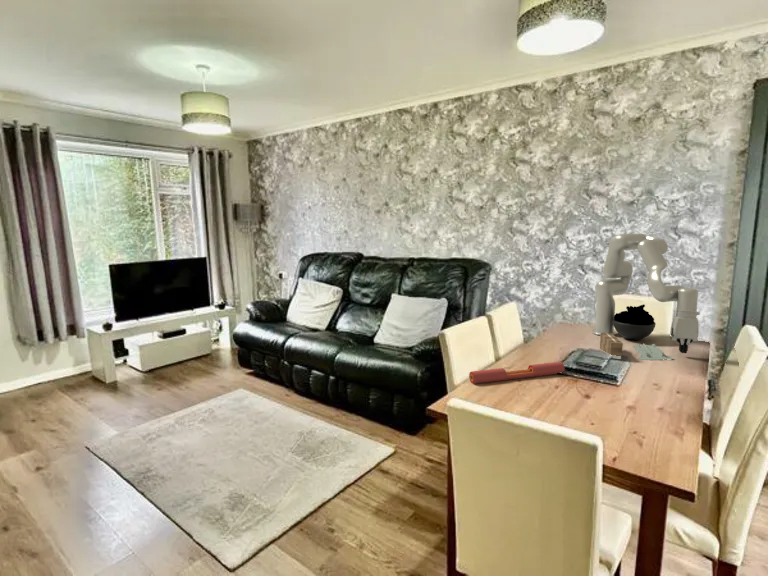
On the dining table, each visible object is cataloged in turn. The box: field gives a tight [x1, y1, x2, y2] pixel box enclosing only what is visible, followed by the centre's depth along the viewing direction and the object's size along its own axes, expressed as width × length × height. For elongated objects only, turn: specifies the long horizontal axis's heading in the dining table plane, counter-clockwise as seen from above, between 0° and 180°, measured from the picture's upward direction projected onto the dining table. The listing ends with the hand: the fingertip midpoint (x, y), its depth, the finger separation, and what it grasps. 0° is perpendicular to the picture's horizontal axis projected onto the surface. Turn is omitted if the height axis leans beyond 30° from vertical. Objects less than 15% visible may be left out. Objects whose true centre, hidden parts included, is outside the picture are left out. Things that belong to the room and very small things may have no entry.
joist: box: [599, 333, 624, 357], centre depth 204 cm, size 18×5×8 cm, turn 167°
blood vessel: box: [468, 361, 565, 385], centre depth 176 cm, size 42×5×5 cm, turn 104°
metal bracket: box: [632, 343, 675, 361], centre depth 200 cm, size 14×6×15 cm
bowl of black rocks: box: [613, 303, 657, 341], centre depth 227 cm, size 20×20×19 cm
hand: (683, 352), depth 197 cm, fingers closed
